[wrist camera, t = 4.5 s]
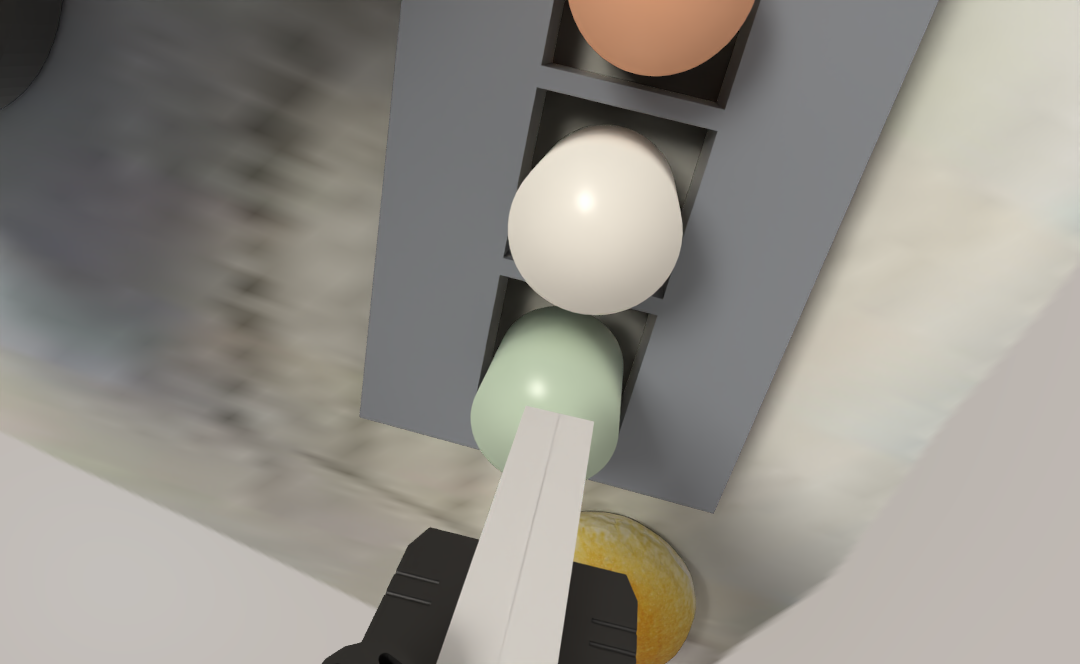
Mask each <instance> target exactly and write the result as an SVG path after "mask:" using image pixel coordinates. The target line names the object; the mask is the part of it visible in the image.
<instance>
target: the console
mask: <svg viewBox="0 0 1080 664" xmlns="http://www.w3.org/2000/svg"><path fill="white" fill-rule="evenodd" d="M938 1H939V0H755V1H754V4H753V6H752V8H751V10H750V12H749V14H748V16H747V18H746V20H745V22H744V23H743V25H742V26H741V28H740V30H739V33H738V37H737V40H736V43H735V46H734V49H733V52H732V55H731V59H730V62H729V65H728V68H727V71H726V74H725V77H724V80H723V84H722V87H721V90H720V93H719V96H718V99H717V102H713V101H709V100H705V99H701V98H697V97H692V96H688V95H684V94H680V93H676V92H672V91H668V90H663V89H659V88H655V87H651V86H647V85H643V84H639V83H634V82H630V81H626V80H622V79H618V78H614V77H609V76H605V75H601V74H597V73H593V72H589V71H585V70H580V69H576V68H572V67H568V66H564V65H560V64H556V63H552V62H553V57H554V52H555V47H556V42H557V37H558V32H559V27H560V22H561V18H562V13H563V8H564V3H565V0H401V10H400V20H399V30H398V39H397V49H396V59H395V69H394V79H393V89H392V99H391V109H390V119H389V129H388V139H387V149H386V159H385V169H384V178H383V188H382V198H381V208H380V218H379V228H378V238H377V248H376V258H375V268H374V278H373V288H372V298H371V308H370V317H369V327H368V337H367V347H366V357H365V367H364V377H363V387H362V397H361V407H360V417H361V418H364V419H368V420H372V421H375V422H379V423H383V424H386V425H390V426H394V427H397V428H401V429H405V430H408V431H412V432H416V433H420V434H423V435H427V436H431V437H434V438H438V439H442V440H445V441H449V442H453V443H456V444H460V445H464V446H467V447H471V448H475V449H478V450H480V449H479V447H478V445H477V443H476V441H475V439H474V436H473V433H472V428H471V408H472V404H473V400H474V398H475V396H476V394H477V391H478V389H479V387H480V385H481V383H482V381H483V379H484V377H485V375H486V373H487V371H488V369H489V367H490V364H491V361H492V356H493V351H494V347H495V342H496V337H497V332H498V327H499V322H500V317H501V312H502V307H503V302H504V297H505V293H506V288H507V283H508V278H509V277H510V278H514V279H518V280H522V281H525V279H524V278H523V277H522V275H521V274H520V272H519V270H518V268H517V267H516V264H515V262H514V259H513V257H512V254H511V250H510V246H509V239H508V220H509V213H510V209H511V205H512V202H513V199H514V197H515V195H516V192H517V191H518V189H519V187H520V185H521V184H522V182H523V181H524V180H525V178H526V177H527V176H528V175H529V173H530V170H531V165H532V160H533V155H534V150H535V145H536V140H537V135H538V130H539V126H540V121H541V116H542V111H543V106H544V101H545V96H546V91H547V90H550V91H554V92H559V93H563V94H567V95H571V96H575V97H579V98H583V99H587V100H591V101H596V102H600V103H604V104H608V105H612V106H616V107H620V108H624V109H628V110H633V111H637V112H641V113H645V114H649V115H653V116H657V117H661V118H665V119H670V120H674V121H678V122H682V123H686V124H690V125H694V126H698V127H702V128H707V129H708V131H707V134H706V137H705V140H704V143H703V146H702V149H701V152H700V156H699V159H698V162H697V165H696V168H695V171H694V174H693V177H692V181H691V184H690V187H689V190H688V193H687V196H686V199H685V203H684V206H683V209H682V212H681V218H682V230H683V235H682V244H681V249H680V253H679V257H678V259H677V262H676V264H675V267H674V268H673V270H672V272H671V274H670V275H669V277H668V278H667V280H666V281H665V282H664V284H663V285H662V286H661V287H660V288H659V289H658V290H657V291H656V292H655V293H654V294H653V295H651V296H650V297H649V298H648V299H646V300H645V301H643V302H641V303H640V304H638V305H636V306H634V307H632V308H630V309H634V310H638V311H642V312H646V313H649V315H648V318H647V321H646V325H645V328H644V331H643V334H642V337H641V340H640V343H639V347H638V350H637V353H636V356H635V359H634V362H633V365H632V368H631V372H630V375H629V378H628V381H627V384H626V387H625V390H624V393H623V397H622V400H621V407H620V421H619V434H618V441H617V445H616V448H615V451H614V453H613V455H612V457H611V458H610V460H609V462H608V463H607V464H606V465H605V466H604V467H603V468H602V469H601V470H600V471H599V472H598V473H597V474H595V475H594V476H592V477H591V478H589V479H588V480H592V481H596V482H600V483H603V484H607V485H611V486H614V487H618V488H622V489H625V490H629V491H633V492H636V493H640V494H644V495H647V496H651V497H655V498H658V499H662V500H666V501H669V502H673V503H677V504H680V505H684V506H688V507H691V508H695V509H699V510H702V511H706V512H710V513H713V514H714V512H715V509H716V507H717V505H718V502H719V500H720V498H721V496H722V493H723V491H724V489H725V486H726V484H727V482H728V480H729V477H730V475H731V473H732V471H733V468H734V466H735V464H736V461H737V459H738V457H739V455H740V452H741V450H742V448H743V445H744V443H745V441H746V439H747V436H748V434H749V432H750V429H751V427H752V425H753V423H754V420H755V418H756V416H757V414H758V411H759V409H760V407H761V404H762V402H763V400H764V398H765V395H766V393H767V391H768V388H769V386H770V384H771V382H772V379H773V377H774V375H775V373H776V370H777V368H778V366H779V363H780V361H781V359H782V357H783V354H784V352H785V350H786V347H787V345H788V343H789V341H790V338H791V336H792V334H793V332H794V329H795V327H796V325H797V322H798V320H799V318H800V316H801V313H802V311H803V309H804V306H805V304H806V302H807V300H808V297H809V295H810V293H811V290H812V288H813V286H814V284H815V281H816V279H817V277H818V275H819V272H820V270H821V268H822V265H823V263H824V261H825V259H826V256H827V254H828V252H829V249H830V247H831V245H832V243H833V240H834V238H835V236H836V234H837V231H838V229H839V227H840V224H841V222H842V220H843V218H844V215H845V213H846V211H847V208H848V206H849V204H850V202H851V199H852V197H853V195H854V193H855V190H856V188H857V186H858V183H859V181H860V179H861V177H862V174H863V172H864V170H865V167H866V165H867V163H868V161H869V158H870V156H871V154H872V151H873V149H874V147H875V145H876V142H877V140H878V138H879V136H880V133H881V131H882V129H883V126H884V124H885V122H886V120H887V117H888V115H889V113H890V110H891V108H892V106H893V104H894V101H895V99H896V97H897V95H898V92H899V90H900V88H901V85H902V83H903V81H904V79H905V76H906V74H907V72H908V69H909V67H910V65H911V63H912V60H913V58H914V56H915V54H916V51H917V49H918V47H919V44H920V42H921V40H922V38H923V35H924V33H925V31H926V28H927V26H928V24H929V22H930V19H931V17H932V15H933V12H934V10H935V8H936V6H937V3H938Z"/></svg>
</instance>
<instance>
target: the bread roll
mask: <svg viewBox="0 0 1080 664" xmlns="http://www.w3.org/2000/svg"><path fill="white" fill-rule="evenodd" d="M573 561H574V562H578V563H582V564H586V565H590V566H594V567H598V568H602V569H606V570H610V571H614V572H618V573H622V574H626V575H627V577H628V579H629V582H630V584H631V587H632V589H633V591H634V594H635V596H636V598H637V601H638V613H637V632H636V635H637V653H636V664H665V663H667V662H668V661H669V660H670V659H672V658H673V657H674V656H675V655H676V654H677V652H678V651H679V650H680V648H681V647H682V645H683V643H684V642H685V640H686V638H687V635H688V633H689V631H690V628H691V625H692V622H693V619H694V615H695V610H696V598H695V592H694V585H693V581H692V577H691V575H690V572H689V570H688V569H687V567H686V565H685V563H684V562H683V560H682V559H681V557H680V556H679V555H678V554H677V553H676V552H675V550H674V549H673V548H672V547H671V546H670V545H669V544H668V543H667V542H666V541H664V540H663V539H662V538H661V537H660V536H658V535H657V534H655V533H654V532H652V531H651V530H649V529H648V528H646V527H645V526H643V525H642V524H640V523H638V522H636V521H634V520H632V519H630V518H627V517H625V516H621V515H616V514H612V513H606V512H580V519H579V525H578V532H577V539H576V545H575V552H574V559H573Z"/></svg>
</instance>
